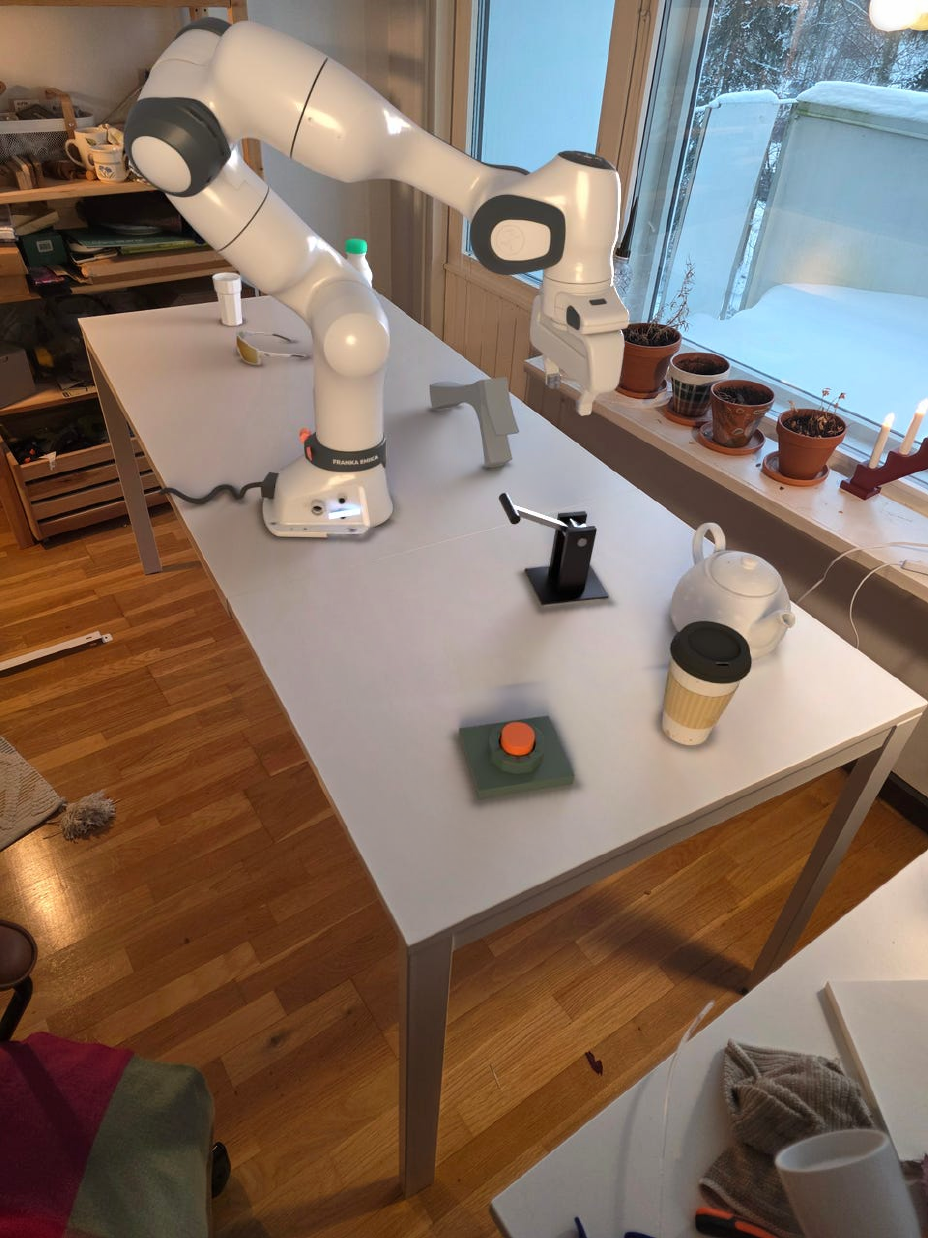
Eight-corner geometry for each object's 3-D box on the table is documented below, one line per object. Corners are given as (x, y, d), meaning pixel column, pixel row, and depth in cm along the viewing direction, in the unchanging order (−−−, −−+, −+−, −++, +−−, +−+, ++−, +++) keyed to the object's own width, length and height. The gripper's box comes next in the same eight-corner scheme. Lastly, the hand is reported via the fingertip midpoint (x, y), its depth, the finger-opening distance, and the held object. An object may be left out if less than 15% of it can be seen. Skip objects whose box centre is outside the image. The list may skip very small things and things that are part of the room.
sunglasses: (228, 346, 191) (228, 325, 188) (289, 346, 198) (290, 326, 195) (245, 369, 182) (246, 347, 179) (309, 369, 189) (310, 348, 186)
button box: (478, 800, 95) (480, 781, 93) (458, 737, 103) (460, 718, 101) (572, 784, 98) (577, 766, 96) (547, 724, 105) (550, 705, 103)
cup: (238, 315, 207) (233, 270, 200) (250, 323, 203) (245, 278, 196) (214, 319, 203) (207, 274, 196) (225, 328, 200) (219, 282, 192)
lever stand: (540, 610, 123) (551, 541, 115) (523, 574, 130) (533, 507, 122) (607, 602, 126) (623, 535, 117) (587, 568, 132) (600, 502, 124)
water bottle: (341, 345, 196) (337, 236, 180) (369, 343, 198) (368, 235, 181) (346, 357, 191) (343, 245, 175) (375, 355, 193) (374, 244, 176)
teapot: (797, 617, 126) (827, 545, 117) (767, 686, 113) (799, 612, 105) (683, 575, 132) (704, 504, 124) (643, 636, 120) (663, 563, 111)
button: (505, 758, 97) (507, 749, 95) (496, 734, 99) (498, 724, 98) (537, 753, 97) (539, 744, 96) (527, 729, 100) (529, 719, 99)
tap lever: (506, 525, 113) (515, 511, 112) (495, 502, 117) (503, 488, 116) (585, 551, 120) (594, 538, 119) (571, 528, 124) (580, 516, 123)
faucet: (438, 462, 176) (496, 470, 149) (428, 383, 171) (486, 377, 144) (464, 458, 178) (526, 465, 151) (455, 380, 173) (517, 373, 146)
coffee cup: (711, 701, 111) (742, 618, 101) (731, 756, 103) (767, 673, 93) (641, 699, 110) (665, 616, 100) (656, 755, 102) (684, 671, 93)
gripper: (520, 276, 110) (517, 374, 118) (590, 325, 95) (579, 433, 104) (562, 271, 111) (555, 368, 120) (637, 319, 96) (623, 425, 105)
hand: (567, 399), depth 112 cm, fingers open, 8 cm apart
